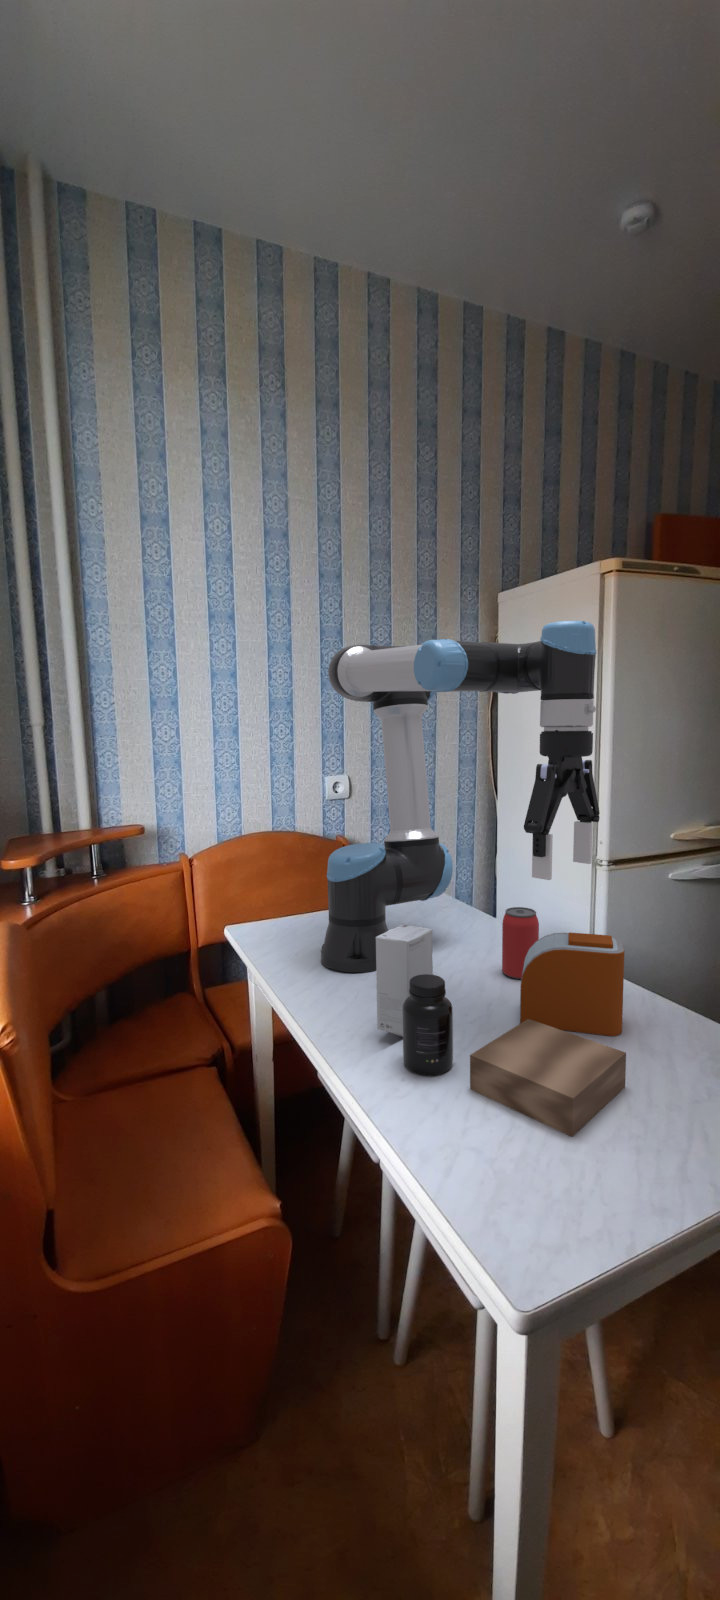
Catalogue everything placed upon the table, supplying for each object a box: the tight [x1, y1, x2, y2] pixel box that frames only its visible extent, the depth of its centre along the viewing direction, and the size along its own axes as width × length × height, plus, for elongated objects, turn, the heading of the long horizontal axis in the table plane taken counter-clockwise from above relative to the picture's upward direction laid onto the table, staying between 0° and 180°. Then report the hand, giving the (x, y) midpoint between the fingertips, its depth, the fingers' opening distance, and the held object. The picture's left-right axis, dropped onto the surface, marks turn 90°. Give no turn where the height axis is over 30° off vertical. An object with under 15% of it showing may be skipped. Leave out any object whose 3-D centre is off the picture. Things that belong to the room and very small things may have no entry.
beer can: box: [501, 906, 540, 980], centre depth 120 cm, size 7×7×12 cm
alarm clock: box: [519, 931, 625, 1037], centre depth 101 cm, size 15×8×14 cm, turn 72°
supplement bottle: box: [402, 974, 454, 1077], centre depth 88 cm, size 7×7×12 cm
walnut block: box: [469, 1019, 627, 1138], centre depth 82 cm, size 14×14×5 cm
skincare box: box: [375, 924, 434, 1038], centre depth 100 cm, size 8×6×15 cm
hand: (562, 870), depth 98 cm, fingers open, 13 cm apart
